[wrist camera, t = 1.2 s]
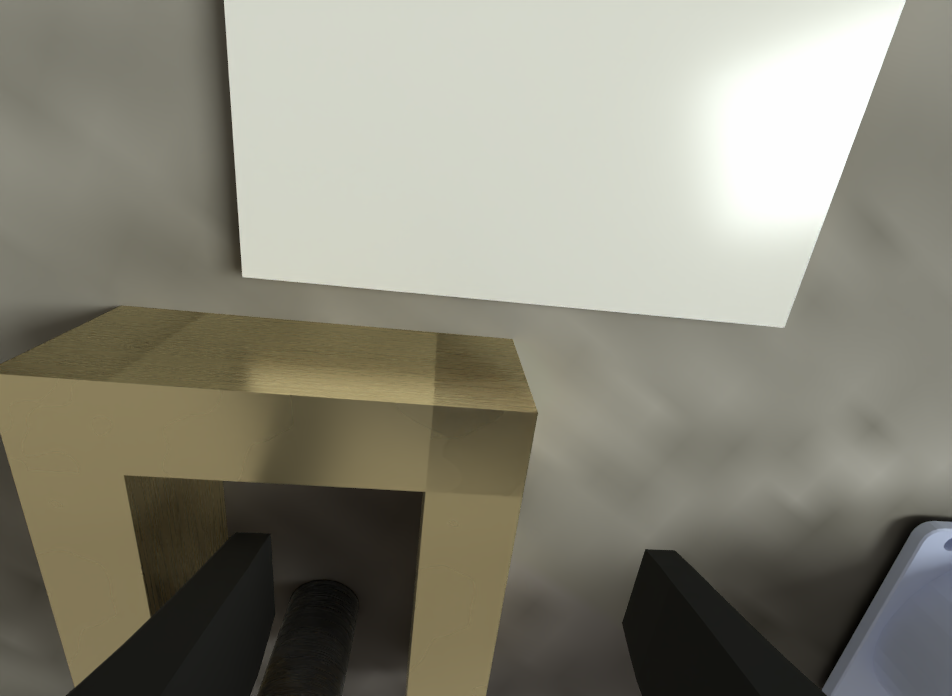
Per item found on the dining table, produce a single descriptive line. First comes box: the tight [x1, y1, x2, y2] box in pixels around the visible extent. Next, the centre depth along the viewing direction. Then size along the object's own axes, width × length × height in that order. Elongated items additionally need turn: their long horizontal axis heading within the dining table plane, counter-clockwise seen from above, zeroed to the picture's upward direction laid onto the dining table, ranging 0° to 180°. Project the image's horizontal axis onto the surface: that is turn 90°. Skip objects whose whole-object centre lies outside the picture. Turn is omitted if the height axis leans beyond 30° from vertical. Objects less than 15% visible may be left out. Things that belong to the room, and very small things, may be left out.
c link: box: [0, 306, 538, 696], centre depth 12 cm, size 9×11×4 cm
